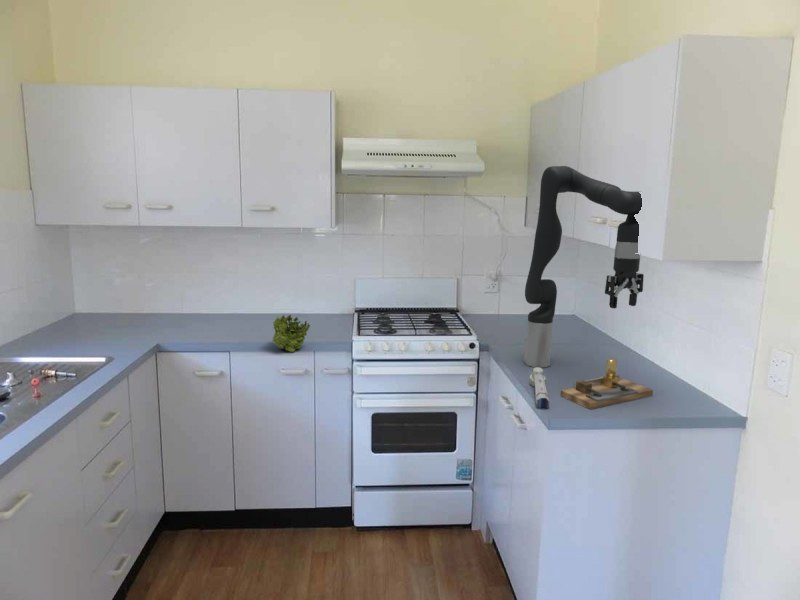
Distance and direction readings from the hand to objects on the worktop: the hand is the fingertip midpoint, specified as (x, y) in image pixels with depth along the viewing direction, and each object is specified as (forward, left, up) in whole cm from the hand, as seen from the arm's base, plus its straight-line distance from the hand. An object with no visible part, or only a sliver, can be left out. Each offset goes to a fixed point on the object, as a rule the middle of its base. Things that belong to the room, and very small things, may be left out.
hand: (622, 306), depth 181 cm
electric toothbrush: (-12, -22, -31) cm, 39 cm away
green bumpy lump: (-98, -80, -30) cm, 130 cm away
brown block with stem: (-2, -10, -28) cm, 30 cm away
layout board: (-2, -2, -30) cm, 30 cm away
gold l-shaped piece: (-2, +2, -28) cm, 28 cm away
